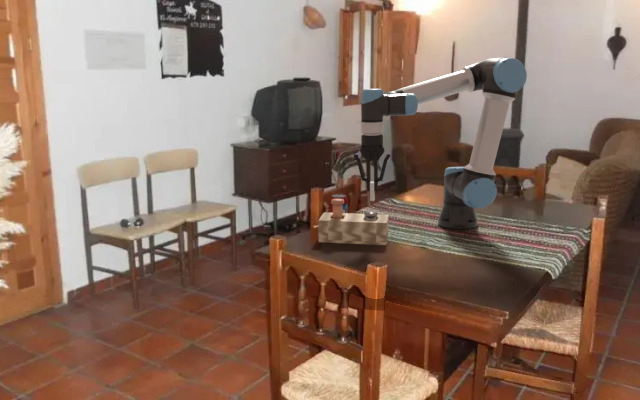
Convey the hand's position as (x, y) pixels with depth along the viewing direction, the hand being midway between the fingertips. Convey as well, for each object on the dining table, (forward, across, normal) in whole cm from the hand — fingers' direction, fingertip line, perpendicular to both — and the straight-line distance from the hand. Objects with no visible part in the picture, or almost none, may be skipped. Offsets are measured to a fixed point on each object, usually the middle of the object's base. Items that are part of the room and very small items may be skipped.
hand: (372, 200), depth 215 cm
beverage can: (+15, +15, -18) cm, 27 cm away
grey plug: (+13, +1, 0) cm, 13 cm away
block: (+15, +7, 0) cm, 16 cm away
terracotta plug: (+8, +13, 0) cm, 15 cm away
